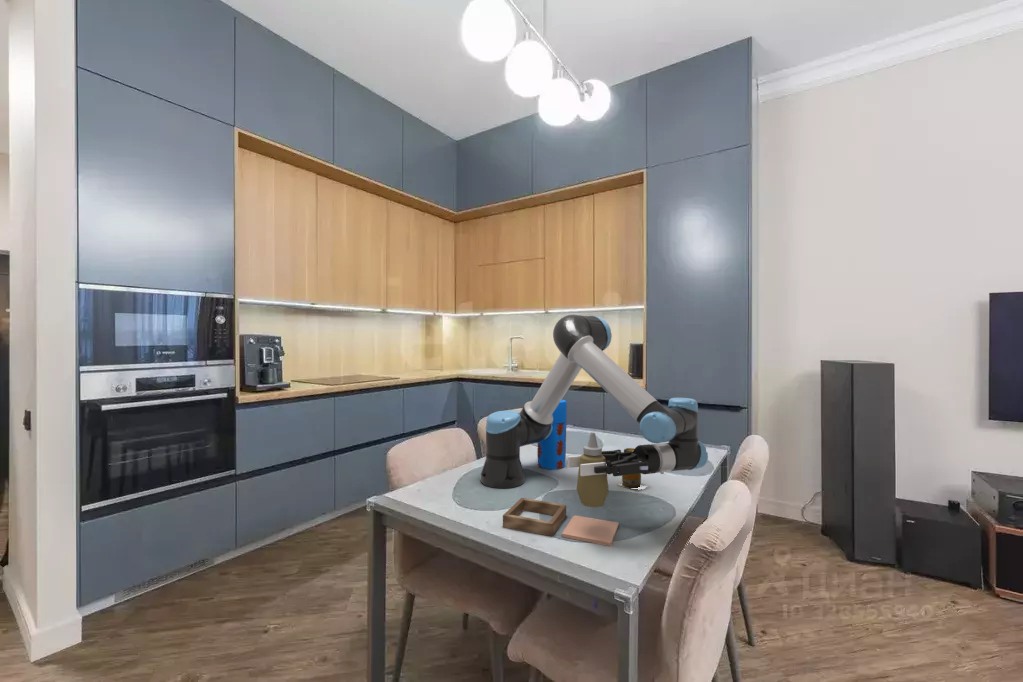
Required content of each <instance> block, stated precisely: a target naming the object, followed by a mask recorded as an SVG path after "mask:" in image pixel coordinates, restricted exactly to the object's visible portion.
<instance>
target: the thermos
mask: <svg viewBox="0 0 1023 682" xmlns="http://www.w3.org/2000/svg"><path fill="white" fill-rule="evenodd" d="M567 405H568V404H567V400H565V399H562V400H561V401H560V403H559V404H558V406H557V408H556V409H555V411H554V412H553V414H552V415H553V424H552V426H553V429H552V432H551V434H550V435H549V437H548V438H547V439H545V440H543V441H541V442H539V443H537V466H538V467H540V468H541V467H542V469H546V470H560V469H563V468H565V467H566V466H565V465H566V457H567V455H566V453H567V451H566V450H567V413H568V411H567V410H568V409H567V408H568V406H567Z"/></svg>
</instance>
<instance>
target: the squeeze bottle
mask: <svg viewBox="0 0 1023 682" xmlns="http://www.w3.org/2000/svg"><path fill="white" fill-rule="evenodd" d="M602 451H603V448H602V446H599V445H598V441H597V436H596V433H595V432H590V433H589V437H588V442H587V445H585V446H583V453H582V454H580V455H579V456H580V461H579V467H578V472H577V473H578V474H577V483H576V484H577V485H576V491H577V495H578V498H579V501H580V503H581V505H583V506H585V507H589V508H600V507H603V506H604V505H605V504H606V501H607V497H608V495H609V492H610V490H609V483H608V482H609V481H608V480H609V479H608V474H607V473H606V474H598V475H589V476H581V475H580V464H588V463H600V462H605V463H606V459H605V457H604V456H603V455H601V454H602Z"/></svg>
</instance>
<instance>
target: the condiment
mask: <svg viewBox="0 0 1023 682" xmlns="http://www.w3.org/2000/svg"><path fill="white" fill-rule="evenodd" d="M634 449H635V448H634V447H633V448H632V447H626V448H624V449H623V452H625V451H630V452H632V453H633V451H634ZM621 481H622V482H621V483H617V484H616V485H618V486H620V487H622V488H626V489H630V490H632V491H635V492H641V491H643V490H642V489H641V491H640V490H638V489H631V488H638V487H640V484H642V474H641V473H636V474H629V475H623V476H621ZM620 484H622V485H620Z"/></svg>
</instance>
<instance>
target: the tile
mask: <svg viewBox="0 0 1023 682" xmlns="http://www.w3.org/2000/svg"><path fill="white" fill-rule="evenodd" d="M619 523H620V522H617V521H609V520H604V519H599V518H594V517H586V516H581V515H574V514H573V516H572V518H571V519H570V520H569V522H568V523H567V525H566V527H565V528H564V530H563V531H562V533H561V537H562V538H565V539H572V540H575V541H576V540H577V541H582V542H585V543H586V542H588V543H593V544H598V545H604V546H609V547H612V544H613V541H614V539H615V537H616V535H617V534H616V533H617V531H618V529H619V525H620V524H619Z"/></svg>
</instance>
